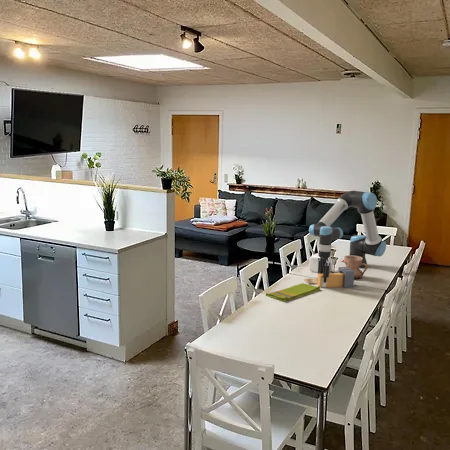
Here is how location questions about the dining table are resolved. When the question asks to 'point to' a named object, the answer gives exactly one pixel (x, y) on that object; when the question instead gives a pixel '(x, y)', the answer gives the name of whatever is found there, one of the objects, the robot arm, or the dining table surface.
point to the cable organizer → (316, 263)
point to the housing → (347, 276)
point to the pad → (311, 280)
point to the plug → (332, 280)
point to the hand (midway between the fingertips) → (322, 285)
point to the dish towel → (293, 292)
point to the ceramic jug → (355, 265)
